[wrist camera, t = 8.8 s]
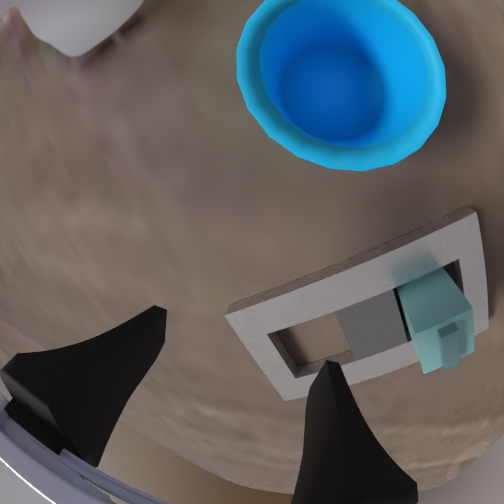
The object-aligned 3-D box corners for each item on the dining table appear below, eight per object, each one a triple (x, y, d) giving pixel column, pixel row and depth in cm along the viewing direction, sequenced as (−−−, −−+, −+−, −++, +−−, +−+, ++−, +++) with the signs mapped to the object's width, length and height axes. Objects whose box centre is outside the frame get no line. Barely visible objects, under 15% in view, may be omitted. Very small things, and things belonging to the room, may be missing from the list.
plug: (440, 264, 18) (477, 315, 12) (447, 304, 20) (478, 358, 13) (394, 284, 20) (419, 342, 14) (405, 322, 21) (426, 382, 15)
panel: (466, 206, 16) (476, 211, 15) (482, 318, 19) (488, 328, 18) (229, 304, 23) (224, 315, 22) (286, 389, 26) (285, 400, 25)
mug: (381, 168, 17) (428, 194, 10) (258, 142, 18) (222, 149, 11) (401, 9, 12) (443, -44, 5) (283, -15, 13) (263, -82, 6)
